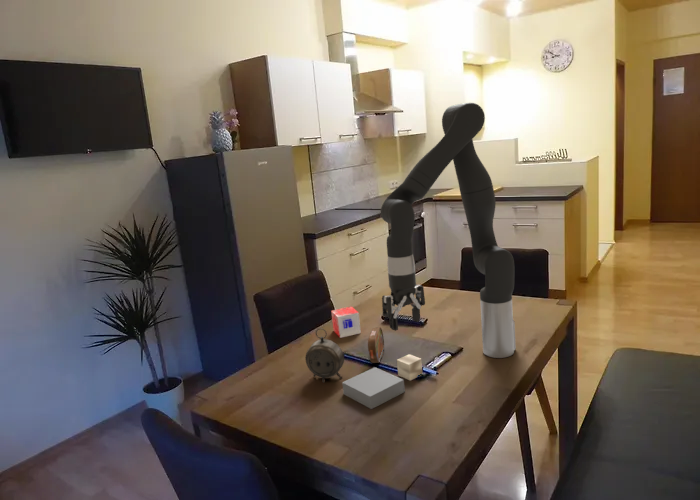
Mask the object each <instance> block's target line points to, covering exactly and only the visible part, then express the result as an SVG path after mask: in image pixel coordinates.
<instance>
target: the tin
mask: <svg viewBox="0 0 700 500" xmlns="http://www.w3.org/2000/svg"><path fill="white" fill-rule="evenodd" d="M383 348H384V349H385V340H384V333H383V329H382V327H381V326H380V327H374V328H372V329H371V332H370V333H369V336H368V339H367V350H368V356H369V360H370V363H371V364H380V363H379V358H380V355H381V352H382V350H383Z"/></svg>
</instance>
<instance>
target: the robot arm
mask: <svg viewBox="0 0 700 500" xmlns="http://www.w3.org/2000/svg"><path fill="white" fill-rule="evenodd" d="M485 119H486V117H485V112H484V110H483V108H482V107H481V106H480V105H479V104H477V103H475V102H463V103H457V104H455V105H451V106H449V107H447V108H446V109H445V111H444V112H443V115H442V117H441V124H442V125H441V126H442V131H443V134H444V135H443V137H442V138H441V139H440V140H439V142H437V144H436V145H434V146H433V148H431V150H429V151H428V152H427V153H426V154H425V155H423V157H422V158H420V159H419V160H418V161H417V163H415V165H414V166H413V168H412V169H411V171H410V172H409V173H408V175H407V176H406V177H405V179H404V180H403V182H402V183H401V184H399V186H397V187H396V188H395V190H393V191H392V192H391V193H390V194H389V195H388V196H387V197H386V199H385V200H384V201H383V203H382V204H381V207H380V217H381V219H382V220H383V221H384V222H385V223H387V224H390V234H389V235H388V236H387V238H386V250H387V251H386V253H387V275H388V287H389V289H390V295H389V294H388V295H383V294H382V298H381V301H382V302H381V304H382V306H381V307H382V308H381V309H382V317H385V318H388V321H389V322H388V323H389V328H390V329H391V330H392V331H394V332H396V331H398V330H399V326H398V324H399V323H398V314H399V312H401V311H402V308H404V307H406V306H409V305H410V306H411V307H412V309H411V315H412V317H411V318H412V321H413V322H416V323H418V322H420V319H421V308H422V306H425V305H426V301H425V300H426V298H425V290H424V289H425V288H424V286H423V285H421V284H417V280H416V278H417V277H416V266H415V257H414V251H413V250H414V249H413V234H414V227H415V217H416V216H415V210H414V208H413V204H414V203H415V202H417V201H419V200H422V199H423V198H424V197H425V196H426V195H427V193H428V192H429V191H430V189H431V188H432V186H433V185H434V184H435V183H436V181H437V180H438V179H439V177H440V176H441V175H442V173H443V172H444V170H445V169H447V167H448V166H449V164H451V162H452V161H453V165H454V171H455V174H456V178H457V179H456V180H457V183H458V187H459V192H460V197H461V201H462V206H463V208H464V213H465V218H466V223H467V225H468V229H469V234H470V241H471V250H472V258H473V264H474V266H475V268H476V270H477V271H478V272H479V273H481V274H483V275H484V276H485V277H484V279H485V280H484V282H485V283H484V284H485V286H484V287H482V288H481V289H480V290H479V301H480V318H481V320H480V321H481V337H482V339H481V341H482V352H483V354H484V356H487V357H489V358H495V359H496V358H497V359H502V358H508V357H511V356H512V355H514V354H515V350H516V349H517V348H516V328H515V327H516V325H515V324H516V322H515V320H514V317H513V316H514V315H513V313H514V312H513V292H514V290H515V270H516V269H515V260H514V257H513V255H512V252H510V251H509V250H507V249H505V248H502V247H500V246H498V243H497V240H496V235H495V231H494V219H495V217H494V216H495V213H496V212H495V211H496V204H497V203H496V195H495V190H494V185H493V182H492V178H491V176H490V174H489V172H488V170H487V168H486V167H485V165H484V164H483V163H482V161H481V159H480V158H479V156H478V154H477V152H476V149H475V145H474V141H473V140H474V138H475V137H476V136H477V135H478V134H479V133H480V131H481V130H482V129H483V127H484V125H485V121H486V120H485Z"/></svg>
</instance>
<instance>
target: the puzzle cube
mask: <svg viewBox="0 0 700 500" xmlns="http://www.w3.org/2000/svg"><path fill="white" fill-rule="evenodd" d="M330 311H331V321H332V328H333V332H334V333H335V334H336V335H337V336H338V338H346V337H350V336H353V335H359V334H361V333H362V331H361V324H360V323H361V321H360V313H359V311H358V310H356V309H355V308H354V307H353V306H347V307H341V308H338V309H333V310H330Z"/></svg>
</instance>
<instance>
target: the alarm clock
mask: <svg viewBox="0 0 700 500" xmlns="http://www.w3.org/2000/svg"><path fill="white" fill-rule="evenodd" d="M318 330H319V331H320V330H322V331H324V333H325V335H324V337H323V336H318ZM315 336H316V337H317V340H316V341H314V342H313V343H312V344H311V346H310V347H308V349H307V351H306V353H305V363H306V366H307V368H308V370H309V371H310V372H311V373H312V374H313V376H312V377H314V378H315V377H319V378H321V379H322V380H321V382H322V383H326V382H325V379H329V378H332V377H334V376H337V377H338V378H339V379H340V380H341V379H343V378H342V377H343V376H341V374H340V373H339V372H340V370H341V369H342V367H343V366H344V362H345V355H344V352H343V349H342V348H341V347H340V346H339V344H338V343H336V342H334V341H333V340H331V339H328V338H326V337H327V331H326V329H324V328H322V327H319V328H317V329H316V330H315Z"/></svg>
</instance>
